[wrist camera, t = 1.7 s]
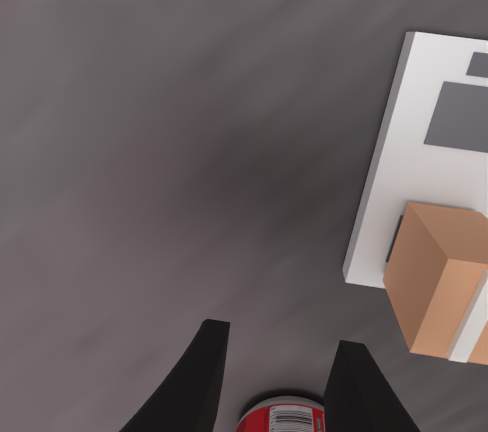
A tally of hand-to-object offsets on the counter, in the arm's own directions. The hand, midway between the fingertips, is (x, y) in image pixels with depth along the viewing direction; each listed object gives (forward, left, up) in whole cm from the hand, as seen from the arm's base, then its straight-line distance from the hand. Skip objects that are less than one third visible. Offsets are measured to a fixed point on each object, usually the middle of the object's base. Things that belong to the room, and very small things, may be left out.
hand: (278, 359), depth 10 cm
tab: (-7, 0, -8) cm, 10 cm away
